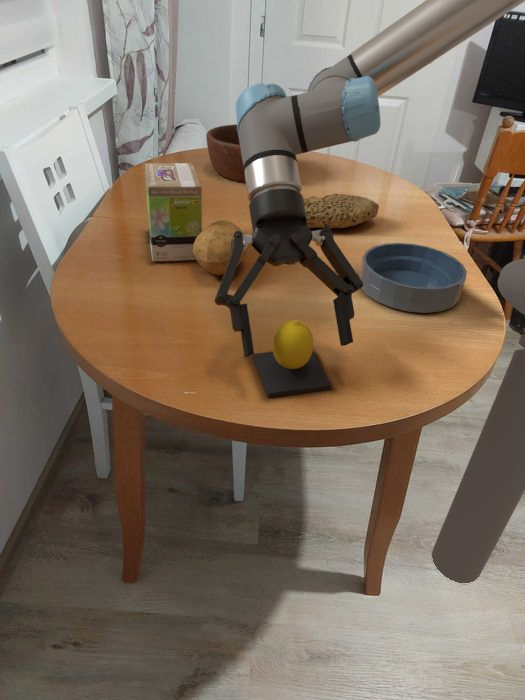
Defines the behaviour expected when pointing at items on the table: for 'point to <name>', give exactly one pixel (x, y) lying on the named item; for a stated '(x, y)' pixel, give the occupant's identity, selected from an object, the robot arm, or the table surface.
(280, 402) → the table surface
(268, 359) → the mat
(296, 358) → the lemon
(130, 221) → the table surface
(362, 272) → the basin
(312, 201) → the sponge
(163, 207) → the tea box
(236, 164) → the wooden bowl
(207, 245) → the potato
